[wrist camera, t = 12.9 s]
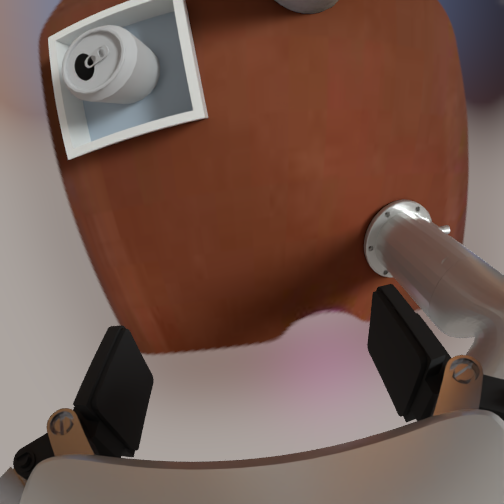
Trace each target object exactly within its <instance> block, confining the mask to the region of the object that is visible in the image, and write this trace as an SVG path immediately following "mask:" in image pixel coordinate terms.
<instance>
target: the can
mask: <svg viewBox="0 0 504 504" xmlns="http://www.w3.org/2000/svg"><path fill="white" fill-rule="evenodd" d="M62 76H63V80H64V82H65V83H66V86H67V88H68V89H69V91H70V92H71V94H72V95H74V96H75V97H77V98H78V99H80V100H85V101H90V102H105V103H117V104H131V103H135V102H137V101H140V100H142V99H144V98H145V97H146V96H147V95H149V94H150V93H151V92H152V90H153V89H154V88H155V86H156V85H157V82H158V80H159V77H160V63H159V60H158V58H157V56H156V55H155V54H154V52H153V51H152V50H150V49H149V48H148V47H147V46H146V45H145V44H143V43H142V42H141V41H140V40H139V39H137V38H136V37H135V36H134V35H133V34H131V33H130V32H129V31H127V30H126V29H124V28H122V27H120V26H115V25H105V26H100V27H96V28H94V29H90V30H88V31H86V32H84V33H83V34H81V35H80V36H79V37H77V38H76V39H75V40H74V41H73V42H72V44H71V45H70V46H69V48H68V49H67V51H66V53H65V56H64V59H63V61H62Z"/></svg>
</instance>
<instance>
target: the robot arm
mask: <svg viewBox="0 0 504 504" xmlns="http://www.w3.org/2000/svg"><path fill="white" fill-rule="evenodd" d="M449 233H450V228H449V226H448V225H445V226H441V227H439V226H437V225H436V224H434V223H432V220H431V218H430V215H429V213H428V212H427V210H426V209H425V208H424V207H423V206H421V205H420V204H418V203H416V202H414V201H411V200H398V201H395V202H392V203H390V204H388V205H387V206H385V207H384V208H383V209H381V210H380V211H379V212H378V213H377V214H376V216H375V217H374V218H373V220H372V221H371V223H370V225H369V227H368V229H367V232H366V235H365V240H364V253H365V257H366V260H367V262H368V264H369V265H370V267H371V268H372V269H373V270H374V271H375V272H376V273H378V274H379V275H381V276H384V277H394V278H395V279H396V280H397V282H398V283H399V284H400V285H401V286H402V287H403V288H404V289H405V290H406V292H407V293H408V294H409V295H410V296H411V297H412V298H413V300H414V301H415V302H416V303H417V304H418V305H419V307H420V308H421V309H422V310H423V311H424V312H425V313H426V315H427V316H428V317H429V318H430V319H431V321H432V322H433V323H434V324H435V325H436V326H437V327H438V329H439V330H440V331H442V332H443V333H444V334H446V335H448V336H451V337H456V338H469V337H475V340H474V343H473V345H472V346H471V348H470V349H469V351H468V352H467V354H466V355H458V356H455V357H453V358H451V357H450V355H449V354H448V353H447V351H446V350H445V348H444V347H443V346H442V344H441V343H440V342H439V340H438V339H437V338H436V336H435V335H434V334H433V332H432V331H431V330H430V328H429V327H428V326H427V324H426V323H425V322H424V320H423V319H422V318H421V317H420V315H418V314H417V313H415V312H414V310H413V309H412V308H411V306H410V305H409V304H408V303H407V301H406V300H405V299H404V298H403V296H402V295H401V294H400V293H399V291H398V290H397V289H396V288H395V287H394V285H392V284H389V285H385V286H380V287H378V288H377V290H376V291H375V292H373V296H372V307H371V318H370V327H369V336H368V351H369V353H370V355H371V357H372V359H373V361H374V363H375V366H376V368H377V370H378V371H379V374H380V376H381V378H382V380H383V382H384V384H385V387H386V388H387V391H388V393H389V395H390V397H391V399H392V402H393V404H394V406H395V408H396V411H397V413H398V415H399V416H404V419H405V421H406V422H408V421H411V420H414V419H416V420H417V422H414V423H411V424H408V425H405V426H403V427H399V428H396V429H393V430H390V431H387V432H383V433H380V434H377V435H373V436H370V437H366V438H363V439H359V440H355V441H352V442H348V443H344V444H339V445H335V446H331V447H326V448H321V449H316V450H311V451H306V452H300V453H294V454H288V455H282V456H275V457H266V458H257V459H247V460H233V461H213V462H170V461H151V460H137V459H125V458H121V456H126V457H134V453H135V450H138V448H139V444H140V439H141V434H142V430H143V425H144V420H145V416H146V411H147V407H148V403H149V398H150V394H151V390H152V386H153V376H152V373H151V372H150V370H149V368H148V366H147V364H146V362H145V360H144V359H143V357H142V355H141V353H140V351H139V349H138V347H137V345H136V343H135V341H134V339H133V337H132V335H131V332H130V331H129V330H128V329H126V328H125V327H124V326H111V327H109V328H108V330H107V332H106V334H105V336H104V338H103V340H102V342H101V344H100V346H99V348H98V350H97V352H96V354H95V356H94V358H93V360H92V362H91V365H90V367H89V369H88V371H87V374H86V376H85V378H84V380H83V382H82V385H81V387H80V389H79V391H78V394H77V396H76V398H75V401H74V403H73V405H74V406H75V407H74V409H73V410H71V409H68V408H62V409H59V410H57V411H56V412H54V413H53V414H52V415H51V416H50V418H49V420H48V422H47V433H46V434H45V435H43V436H41V437H40V438H38V439H36V440H35V441H33V442H31V443H30V444H28V445H26V446H25V447H23V448H21V449H20V450H19V451H18V452H17V453H16V455H15V457H14V462H13V465H14V469H12V468H11V467H10V468H9V469H8V470H7V471H6V472H5V473H4V474H3V475H2V476H1V477H0V504H504V275H503V274H501V273H500V272H499V271H497V270H496V269H495V268H493V267H492V266H490V265H489V264H488V263H487V262H485V261H484V260H483V259H481V258H480V257H478V256H477V255H475V254H474V253H473V252H471V251H470V250H469V249H467V248H466V247H464V246H463V245H462V244H460V243H459V242H458V241H456V240H455V239H453V238H452V237H450V236H449V235H447V234H449Z"/></svg>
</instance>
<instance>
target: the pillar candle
mask: <svg viewBox="0 0 504 504" xmlns="http://www.w3.org/2000/svg"><path fill="white" fill-rule="evenodd" d="M275 1H276V2H278V3H279V4H280V5H282V6H284V7H286V8H287V9H289V10H292V11H295V12H298V13H304V14H305V13H309V14H313V13H319V12H322V11H324V10H326V9H328V8H330V7H332V6H334V4H335V3H336V2H337V1H338V0H275Z"/></svg>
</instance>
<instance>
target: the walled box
mask: <svg viewBox="0 0 504 504" xmlns="http://www.w3.org/2000/svg"><path fill="white" fill-rule="evenodd" d="M105 25H115V26H120V27H122V28H124V29H126V30H127V31H129V32H130V33H131V34H133V35H134V36H135V37H136V38H137V39H139V40H140V41H141V42H142V43H143V44H145V45H146V46H147V47H148V48H149V49H150V50H152V51H153V52H154V54H155V55H156V56H157V58H158V60H159V63H160V77H159V80H158V82H157V85H156V86H155V88H154V89H153V90H152V92H151V93H150V94H149V95H147V96H146V97H145V98H144V99H142V100H140V101H137V102H135V103H131V104H117V103H105V102H90V101H85V100H80V99H78V98H77V97H75V96H74V95H72V94H71V92H70V91H69V89H68V88H67V86H66V83H65V82H64V80H63V76H62V61H63V59H64V56H65V53H66V51H67V49H68V48H69V46H70V45H71V44H72V42H73V41H74V40H75V39H76V38H77V37H79V36H80V35H81V34H83V33H84V32H86V31H88V30H90V29H94V28H96V27H100V26H105ZM48 43H49V55H50V65H51V73H52V81H53V88H54V95H55V101H56V106H57V112H58V117H59V122H60V127H61V132H62V136H63V141H64V145H65V149H66V153H67V157H68V160H70V159H73V158H76V157H78V156H81V155H84V154H87V153H90V152H93V151H96V150H98V149H101V148H104V147H107V146H110V145H113V144H115V143H118V142H121V141H124V140H128V139H131V138H134V137H137V136H140V135H144V134H147V133H150V132H154V131H157V130H161V129H165V128H168V127H172V126H176V125H180V124H184V123H188V122H192V121H197V120H201V119H205V118H208V114H207V109H206V104H205V99H204V94H203V89H202V84H201V78H200V73H199V68H198V63H197V58H196V53H195V47H194V42H193V37H192V32H191V26H190V21H189V15H188V10H187V5H186V2H185V0H130V1H127V2H124V3H122V4H119V5H116V6H114V7H111V8H109V9H106V10H104V11H101V12H99V13H97V14H94V15H92V16H90V17H88V18H86V19H83V20H81V21H79V22H77V23H75V24H73V25H71V26H69V27H67V28H65V29H63V30H61V31H60V32H58V33H56V34H54V35H52V36H50V37H49V38H48Z"/></svg>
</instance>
